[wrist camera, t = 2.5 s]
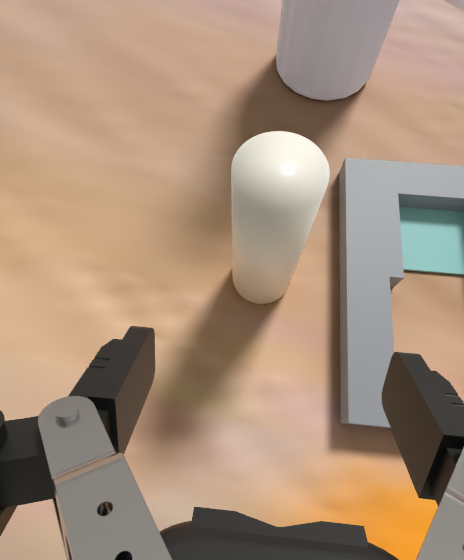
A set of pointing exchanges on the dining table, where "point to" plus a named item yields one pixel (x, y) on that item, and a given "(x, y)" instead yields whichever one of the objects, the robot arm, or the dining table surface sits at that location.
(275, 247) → the cream rounded cylinder
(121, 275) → the dining table surface
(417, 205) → the rectangular recess board
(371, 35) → the soap bottle
